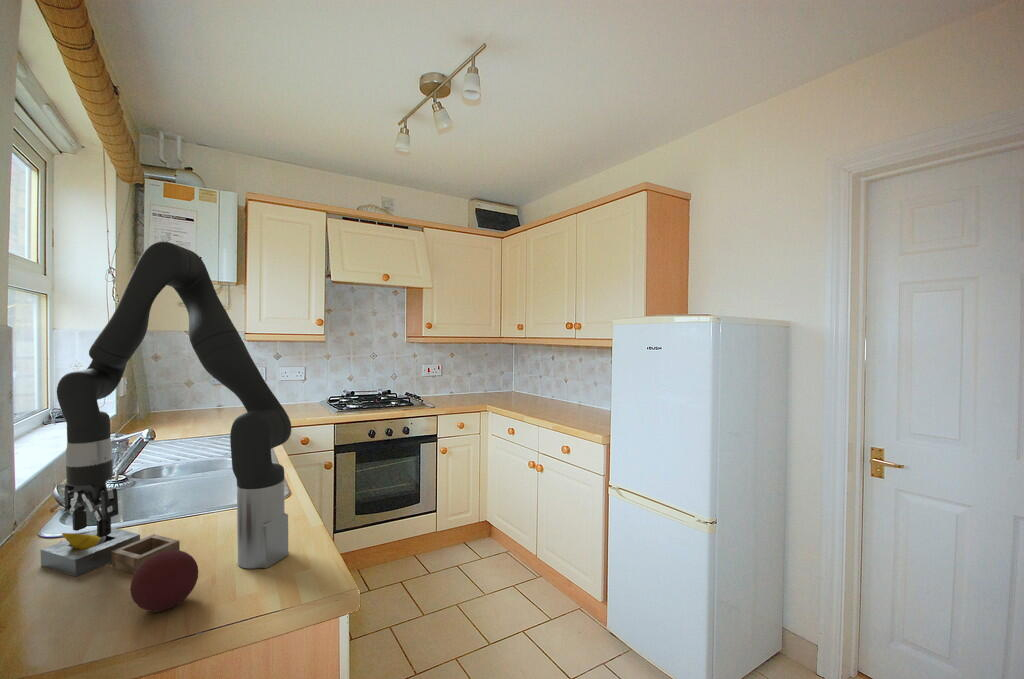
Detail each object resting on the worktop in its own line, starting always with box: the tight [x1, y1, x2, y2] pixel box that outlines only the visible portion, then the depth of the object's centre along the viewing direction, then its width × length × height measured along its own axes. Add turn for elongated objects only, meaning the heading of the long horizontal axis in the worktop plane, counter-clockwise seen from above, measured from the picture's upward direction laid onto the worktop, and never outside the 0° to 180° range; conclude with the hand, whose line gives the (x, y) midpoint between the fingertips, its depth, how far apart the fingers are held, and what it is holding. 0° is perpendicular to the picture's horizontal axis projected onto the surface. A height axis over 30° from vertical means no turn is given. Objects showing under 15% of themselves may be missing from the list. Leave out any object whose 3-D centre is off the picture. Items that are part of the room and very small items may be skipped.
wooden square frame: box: [111, 533, 181, 575], centre depth 100 cm, size 8×8×4 cm
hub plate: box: [40, 526, 141, 578], centre depth 101 cm, size 12×12×4 cm
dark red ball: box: [129, 549, 199, 612], centre depth 84 cm, size 10×10×10 cm
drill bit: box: [61, 532, 106, 550], centre depth 100 cm, size 5×5×10 cm
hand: (91, 532), depth 101 cm, fingers open, 8 cm apart
